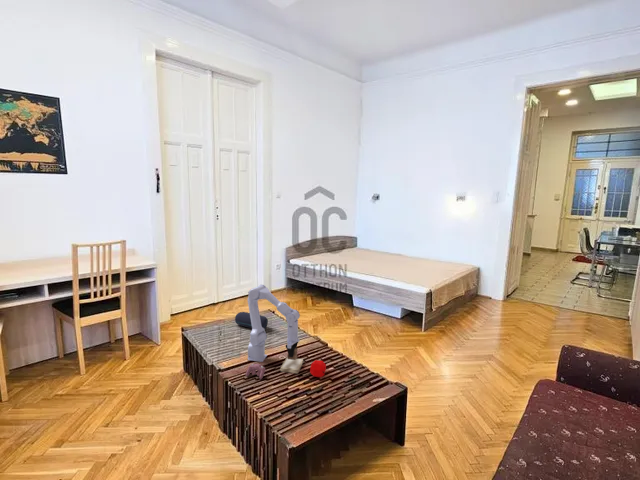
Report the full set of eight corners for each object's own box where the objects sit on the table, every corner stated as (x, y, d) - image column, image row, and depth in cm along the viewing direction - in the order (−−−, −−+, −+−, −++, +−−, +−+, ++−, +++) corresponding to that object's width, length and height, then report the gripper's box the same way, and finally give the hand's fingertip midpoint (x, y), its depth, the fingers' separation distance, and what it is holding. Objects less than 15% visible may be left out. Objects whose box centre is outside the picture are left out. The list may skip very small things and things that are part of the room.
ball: (323, 380, 180) (324, 366, 179) (309, 378, 182) (309, 365, 181) (326, 372, 188) (326, 359, 187) (312, 370, 190) (312, 357, 188)
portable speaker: (270, 328, 244) (270, 315, 242) (262, 333, 235) (262, 319, 233) (241, 321, 254) (241, 309, 252) (233, 326, 245) (233, 313, 243)
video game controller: (264, 379, 182) (267, 365, 184) (260, 380, 178) (263, 366, 180) (248, 375, 185) (251, 362, 187) (244, 376, 181) (247, 362, 183)
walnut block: (287, 359, 190) (287, 350, 189) (289, 355, 194) (289, 347, 194) (295, 359, 189) (295, 351, 188) (297, 356, 194) (297, 347, 193)
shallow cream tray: (280, 371, 188) (280, 367, 187) (286, 360, 199) (286, 357, 199) (298, 373, 186) (298, 369, 186) (303, 362, 198) (303, 359, 197)
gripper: (296, 338, 182) (295, 361, 184) (302, 327, 196) (302, 349, 198) (283, 336, 183) (283, 360, 185) (290, 326, 197) (290, 348, 199)
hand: (292, 354), depth 192 cm, fingers closed on walnut block, 5 cm apart
